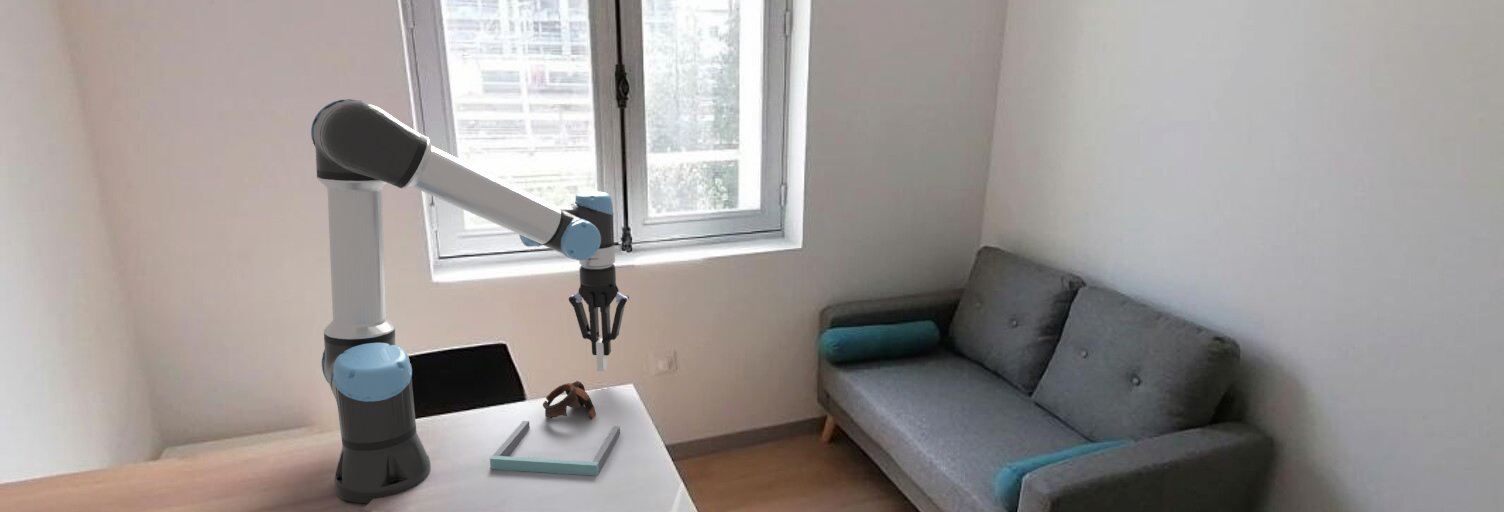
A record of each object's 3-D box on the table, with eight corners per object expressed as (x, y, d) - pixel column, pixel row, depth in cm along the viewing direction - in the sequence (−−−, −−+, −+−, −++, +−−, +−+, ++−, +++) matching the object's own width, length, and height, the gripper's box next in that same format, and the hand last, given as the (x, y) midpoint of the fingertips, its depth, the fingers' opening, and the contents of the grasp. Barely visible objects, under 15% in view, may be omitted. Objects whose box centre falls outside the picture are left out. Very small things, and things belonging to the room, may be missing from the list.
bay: (490, 469, 139) (489, 458, 139) (523, 430, 154) (523, 420, 154) (597, 475, 137) (596, 465, 137) (620, 435, 152) (619, 426, 152)
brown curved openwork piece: (596, 429, 155) (574, 399, 152) (555, 447, 157) (532, 417, 153) (604, 393, 166) (584, 364, 162) (566, 410, 167) (545, 381, 164)
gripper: (561, 268, 163) (567, 373, 169) (622, 270, 162) (627, 376, 168) (573, 259, 171) (578, 361, 176) (631, 261, 169) (635, 363, 175)
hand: (602, 368), depth 172 cm, fingers closed
